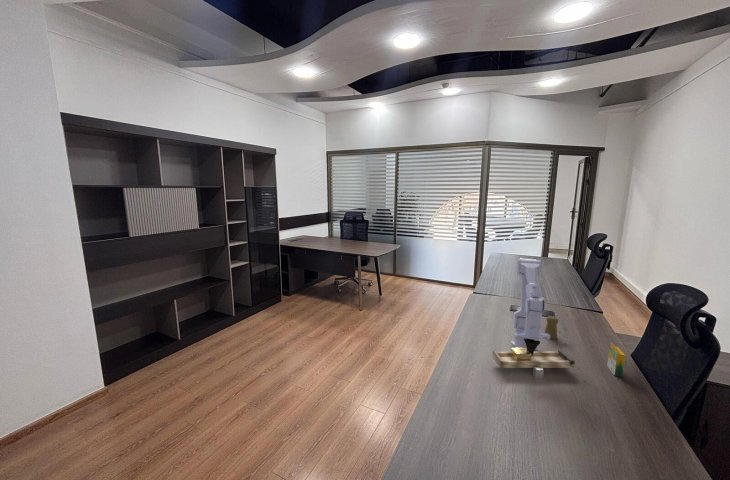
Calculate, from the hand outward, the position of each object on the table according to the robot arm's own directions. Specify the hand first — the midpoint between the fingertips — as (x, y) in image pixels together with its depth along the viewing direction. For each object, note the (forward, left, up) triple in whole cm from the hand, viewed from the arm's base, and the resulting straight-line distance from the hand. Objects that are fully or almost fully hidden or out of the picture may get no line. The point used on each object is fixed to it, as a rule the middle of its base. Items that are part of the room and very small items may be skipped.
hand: (530, 354), depth 126 cm
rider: (+4, 0, -2) cm, 5 cm away
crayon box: (-36, +2, -7) cm, 36 cm away
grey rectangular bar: (-1, 0, -7) cm, 7 cm away
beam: (-1, 0, -4) cm, 4 cm away
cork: (-27, -28, -7) cm, 39 cm away
